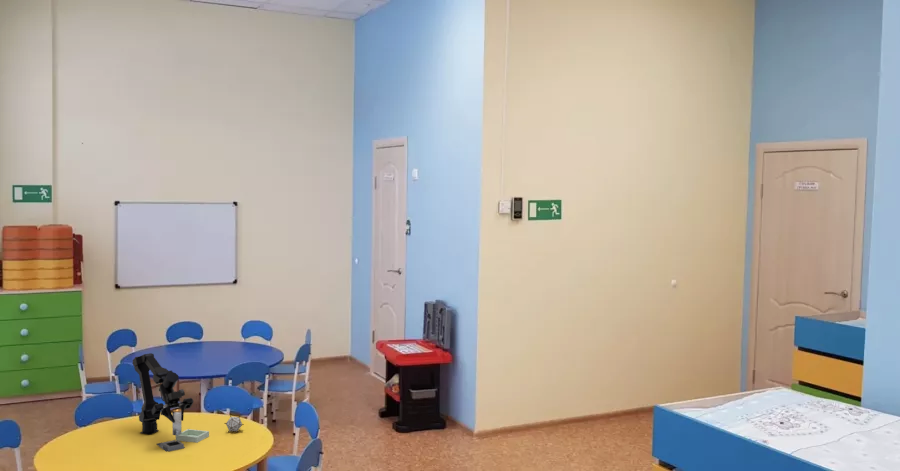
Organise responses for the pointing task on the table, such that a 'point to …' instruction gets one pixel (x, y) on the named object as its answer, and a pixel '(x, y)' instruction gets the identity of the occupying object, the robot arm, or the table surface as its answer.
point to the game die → (234, 423)
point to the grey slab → (171, 445)
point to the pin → (177, 421)
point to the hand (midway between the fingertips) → (178, 421)
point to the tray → (192, 435)
